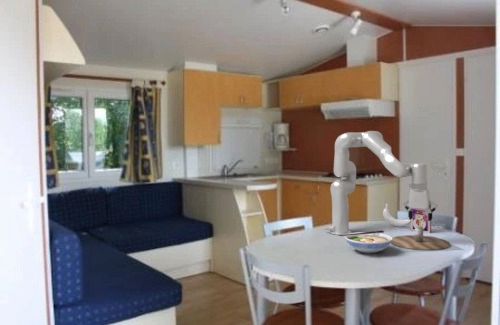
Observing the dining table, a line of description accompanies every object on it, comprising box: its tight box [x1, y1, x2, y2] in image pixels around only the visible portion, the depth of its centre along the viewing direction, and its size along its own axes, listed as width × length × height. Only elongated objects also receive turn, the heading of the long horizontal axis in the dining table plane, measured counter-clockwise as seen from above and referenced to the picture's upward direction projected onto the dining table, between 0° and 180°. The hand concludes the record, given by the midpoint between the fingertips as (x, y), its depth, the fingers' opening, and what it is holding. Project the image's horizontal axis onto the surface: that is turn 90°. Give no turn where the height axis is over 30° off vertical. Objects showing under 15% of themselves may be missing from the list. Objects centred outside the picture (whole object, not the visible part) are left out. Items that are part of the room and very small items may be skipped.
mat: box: [389, 235, 465, 253], centre depth 225 cm, size 31×31×1 cm
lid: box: [391, 227, 451, 252], centre depth 225 cm, size 29×29×8 cm
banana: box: [382, 202, 411, 228], centre depth 270 cm, size 5×19×15 cm, turn 45°
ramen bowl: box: [339, 230, 393, 254], centre depth 212 cm, size 25×23×8 cm
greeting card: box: [410, 206, 433, 234], centre depth 254 cm, size 11×7×15 cm, turn 42°
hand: (420, 219), depth 224 cm, fingers open, 9 cm apart
